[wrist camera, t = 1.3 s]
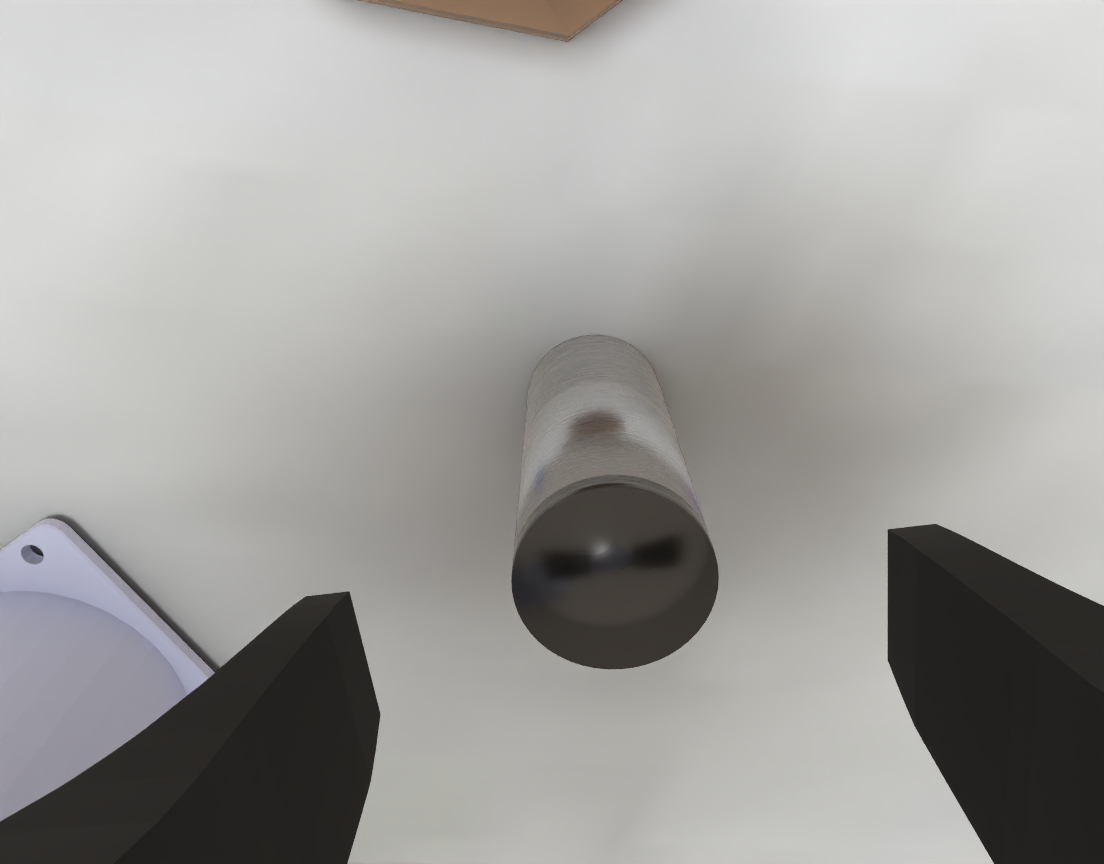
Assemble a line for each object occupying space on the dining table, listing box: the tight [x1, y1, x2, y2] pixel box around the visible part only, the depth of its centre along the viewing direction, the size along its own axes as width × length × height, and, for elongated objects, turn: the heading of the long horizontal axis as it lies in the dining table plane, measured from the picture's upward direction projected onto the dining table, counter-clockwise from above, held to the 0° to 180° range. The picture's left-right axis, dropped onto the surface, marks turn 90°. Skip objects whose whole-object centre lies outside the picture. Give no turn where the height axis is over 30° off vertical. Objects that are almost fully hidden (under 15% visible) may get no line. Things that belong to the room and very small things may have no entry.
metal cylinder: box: [512, 335, 719, 669], centre depth 17 cm, size 3×3×8 cm
